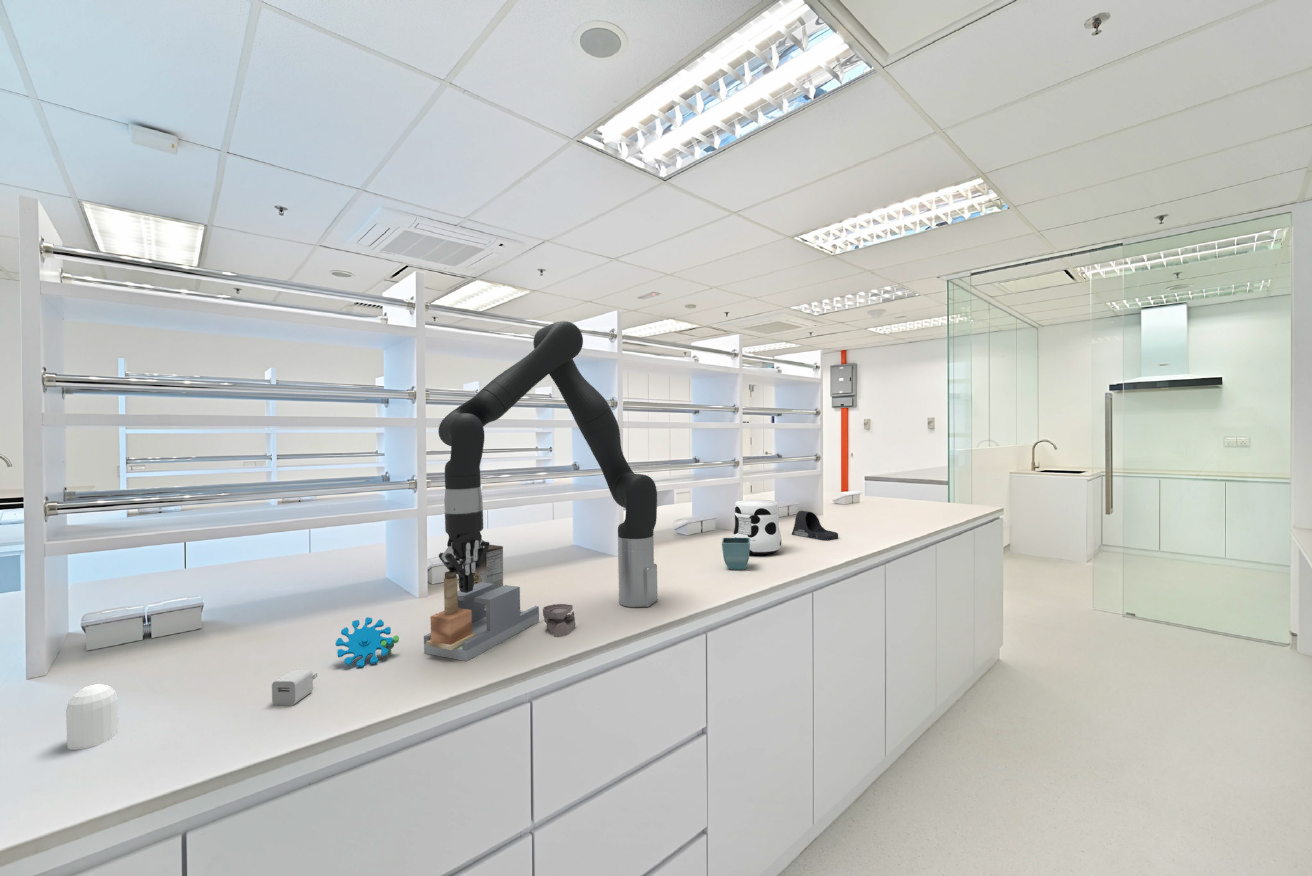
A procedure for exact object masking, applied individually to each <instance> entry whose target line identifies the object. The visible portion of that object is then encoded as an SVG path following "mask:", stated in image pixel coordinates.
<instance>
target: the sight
mask: <svg viewBox="0 0 1312 876" xmlns="http://www.w3.org/2000/svg"><path fill="white" fill-rule="evenodd" d="M791 536H796V537H802V538H808V539H813V540H819V541H824V542H825V541H827V542H828V541H829V542H830V541H834V540H838V539H839V533H838V532H836V531H832V530H829V529H825V527H824V526H822V525H821V522H820V519H819V517H818V516H817V515H816V513H814V512H812V511H809V510H808V511H806V510H799V511H797V513H796V516H795V519H794V525H793V529H792V533H791Z"/></svg>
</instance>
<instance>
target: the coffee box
mask: <svg viewBox="0 0 1312 876" xmlns="http://www.w3.org/2000/svg"><path fill="white" fill-rule="evenodd" d="M477 560H478V558H477ZM476 562H477V561H476ZM473 575H474V585H475V584H477V583H480V582H483V583H491V584H495V588H494V589H497V588H499V587H502V586H504V546H502V545H495V544H490V545H489V548H488V550H487V552H486V555H485V557H484V560H483V562H482V564H481V567H480V568H476V569H475V572H474V573H473ZM494 589H492V590H494ZM492 590H489V591H487V592H490V591H492ZM487 592H484V594H485V593H487ZM484 606H485V608H486V604H484Z"/></svg>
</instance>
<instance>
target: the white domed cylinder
mask: <svg viewBox="0 0 1312 876" xmlns="http://www.w3.org/2000/svg"><path fill="white" fill-rule="evenodd" d="M65 712H66V713H65V716H66V720H65V721H66V723H65V724H66V748H67V749H68V750H71V751H72V750H73V751H76V750H86V749H88V748H93V747H97V746H99V745H102V744H104V743H107V742H109V741H110V740H113V739H114V738H115V737H117V736H118V734H119V729H120V728H119V727H120V726H119V699H118V694H117V691H116V690H115V689H114V688H113V687H112V686H110V685H107V684H103V683H96V684H90V685H87V686H85V687H82V688H81V689H80V690H78V691H76V692H75V693H74V694H73V695H72V697H71V698H70V699H69V700H68V703H67V704H66V709H65Z"/></svg>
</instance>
